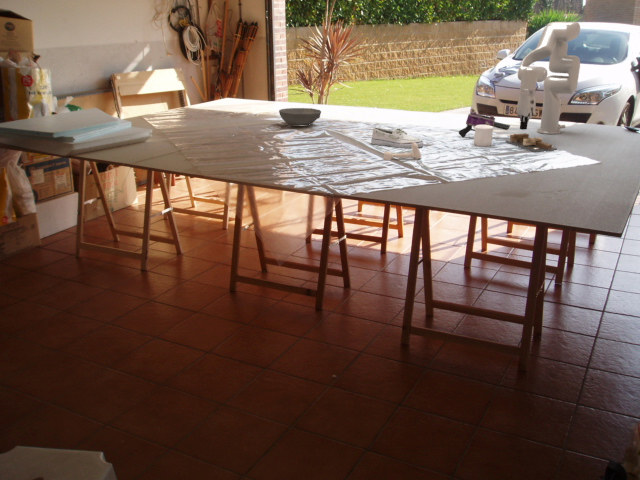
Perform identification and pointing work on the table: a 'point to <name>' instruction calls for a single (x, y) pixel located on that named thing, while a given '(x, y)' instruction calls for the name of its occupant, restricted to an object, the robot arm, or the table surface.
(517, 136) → the rail
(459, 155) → the table surface
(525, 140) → the sliding jaw
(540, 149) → the strip
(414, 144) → the beige knobbed bar
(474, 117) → the toy gun
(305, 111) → the bowl
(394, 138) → the boat shoe
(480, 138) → the cup
